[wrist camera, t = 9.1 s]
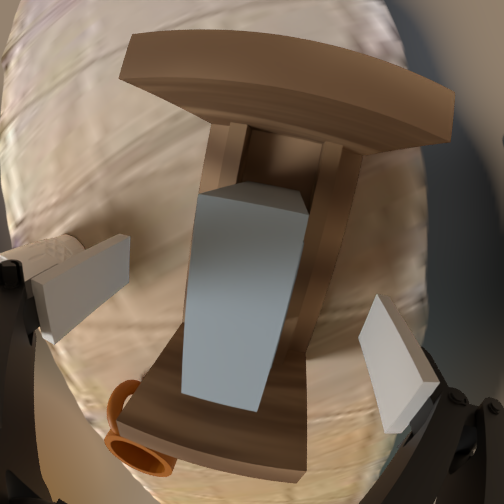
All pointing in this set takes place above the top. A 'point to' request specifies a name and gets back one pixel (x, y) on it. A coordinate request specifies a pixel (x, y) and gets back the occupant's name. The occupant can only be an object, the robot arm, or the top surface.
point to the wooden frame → (281, 175)
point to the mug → (130, 450)
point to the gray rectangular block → (239, 289)
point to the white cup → (43, 254)
